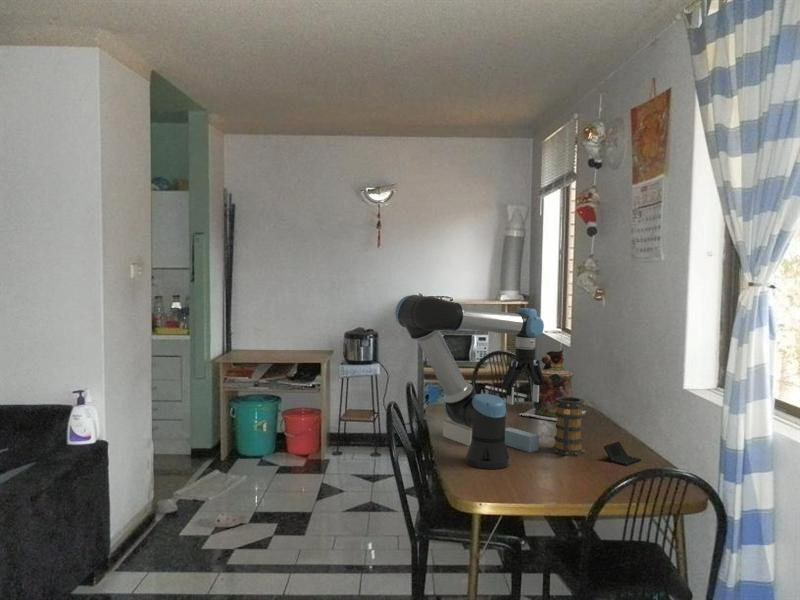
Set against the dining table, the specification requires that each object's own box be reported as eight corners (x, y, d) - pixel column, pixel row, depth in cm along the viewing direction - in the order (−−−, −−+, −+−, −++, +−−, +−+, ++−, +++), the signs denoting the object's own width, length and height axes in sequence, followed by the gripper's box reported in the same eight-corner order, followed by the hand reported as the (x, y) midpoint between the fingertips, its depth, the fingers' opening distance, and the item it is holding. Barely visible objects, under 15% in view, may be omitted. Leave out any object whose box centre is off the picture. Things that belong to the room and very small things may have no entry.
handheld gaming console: (632, 463, 230) (617, 437, 235) (615, 472, 234) (600, 446, 238) (643, 461, 239) (628, 436, 244) (626, 470, 243) (612, 445, 247)
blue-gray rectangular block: (529, 452, 248) (529, 436, 247) (500, 443, 260) (500, 428, 259) (538, 450, 251) (538, 435, 250) (509, 442, 263) (509, 427, 262)
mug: (586, 449, 253) (588, 397, 252) (583, 461, 237) (585, 406, 236) (552, 446, 257) (554, 395, 256) (546, 457, 241) (548, 403, 240)
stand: (469, 446, 254) (470, 427, 254) (442, 436, 269) (443, 418, 269) (497, 442, 261) (498, 423, 261) (470, 432, 277) (470, 415, 276)
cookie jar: (539, 408, 330) (541, 344, 329) (587, 415, 316) (589, 349, 314) (517, 416, 310) (519, 348, 309) (567, 424, 296) (570, 353, 294)
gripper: (508, 350, 245) (505, 406, 245) (555, 348, 259) (552, 402, 259) (494, 347, 251) (492, 403, 251) (541, 346, 265) (538, 398, 266)
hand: (522, 402), depth 255 cm, fingers open, 13 cm apart
